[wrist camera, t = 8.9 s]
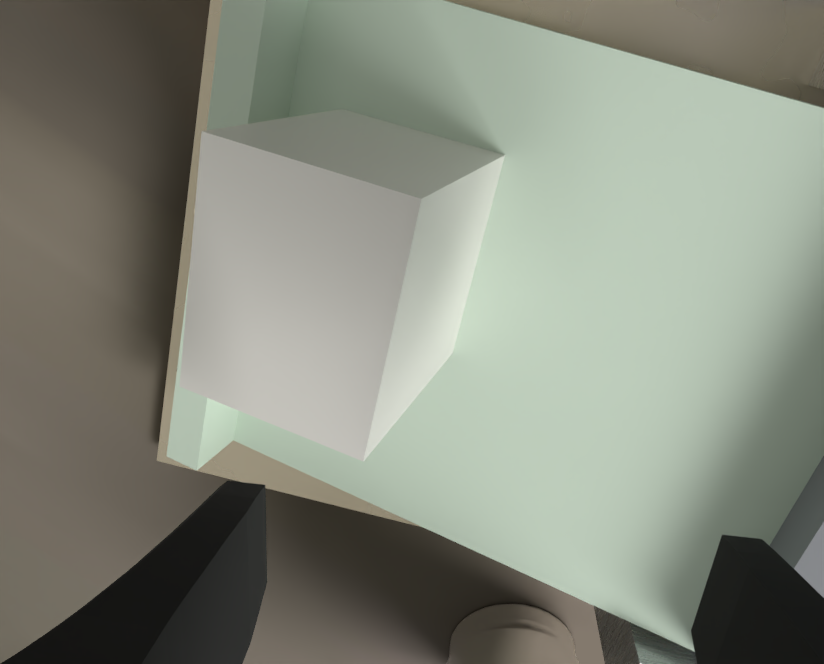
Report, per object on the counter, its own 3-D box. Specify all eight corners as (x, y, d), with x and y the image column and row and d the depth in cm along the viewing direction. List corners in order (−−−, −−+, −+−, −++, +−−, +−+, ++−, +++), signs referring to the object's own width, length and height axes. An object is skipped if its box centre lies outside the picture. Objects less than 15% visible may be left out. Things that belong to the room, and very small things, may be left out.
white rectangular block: (505, 155, 16) (421, 199, 11) (452, 353, 18) (363, 461, 13) (342, 109, 17) (201, 130, 12) (310, 302, 19) (179, 386, 14)
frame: (1146, 81, 17) (1452, 123, 12) (799, 609, 25) (889, 782, 19) (239, -175, 17) (124, -254, 11) (163, 450, 24) (73, 583, 19)
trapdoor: (1268, 230, 14) (1481, 297, 10) (910, 681, 20) (961, 833, 16) (326, -36, 19) (229, -58, 15) (251, 391, 24) (166, 456, 20)
